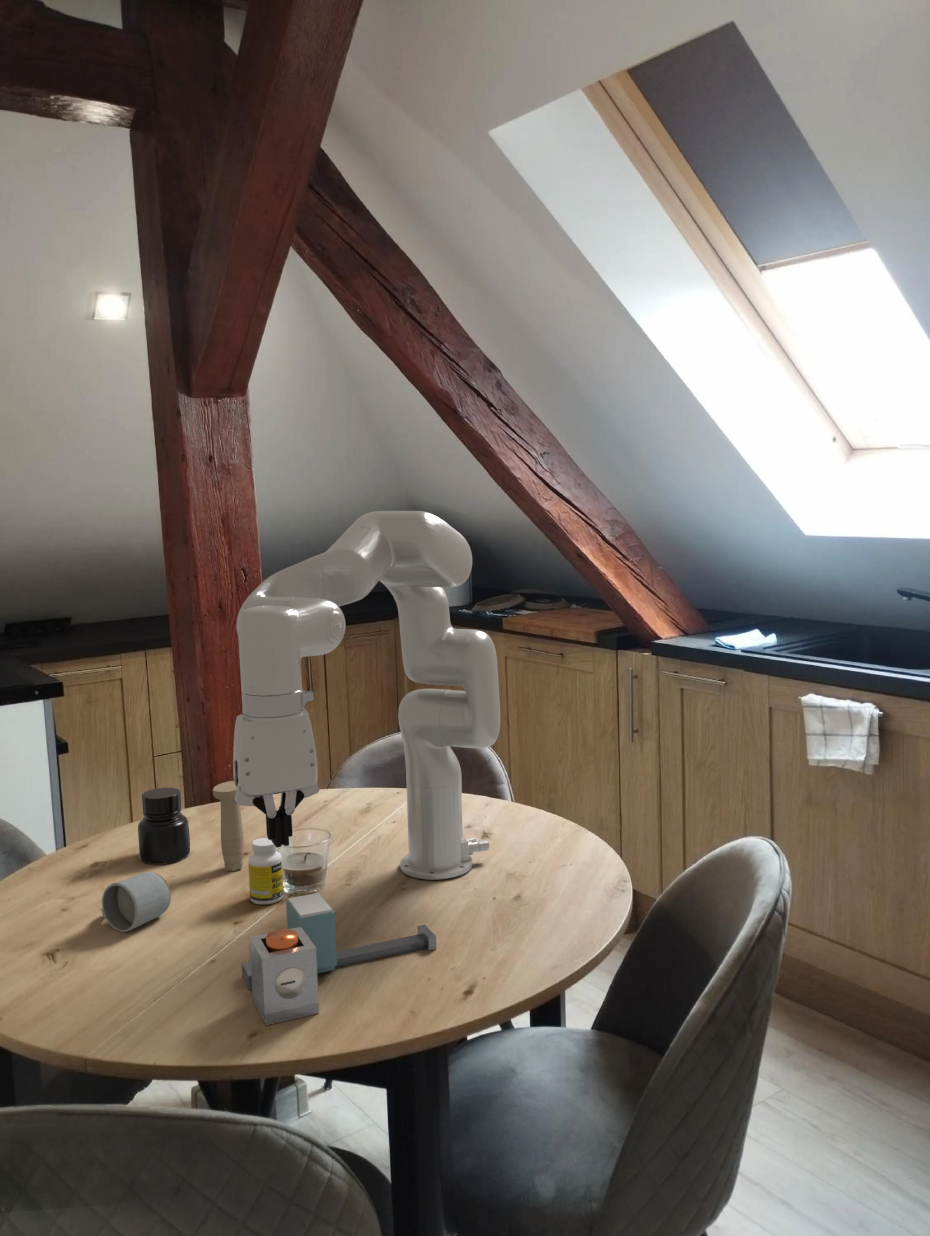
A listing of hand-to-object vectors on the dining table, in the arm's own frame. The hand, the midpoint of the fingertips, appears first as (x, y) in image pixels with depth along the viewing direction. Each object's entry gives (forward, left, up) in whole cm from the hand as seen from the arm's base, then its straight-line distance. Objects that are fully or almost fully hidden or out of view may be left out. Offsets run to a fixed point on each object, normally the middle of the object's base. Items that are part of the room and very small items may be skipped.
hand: (280, 843), depth 139 cm
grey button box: (+1, +1, -22) cm, 22 cm away
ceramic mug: (+15, -37, -22) cm, 46 cm away
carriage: (-6, -8, -22) cm, 24 cm away
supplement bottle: (-6, -36, -22) cm, 43 cm away
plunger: (+1, +1, -20) cm, 20 cm away
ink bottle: (+6, -64, -22) cm, 68 cm away
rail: (-10, -8, -22) cm, 26 cm away
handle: (-4, -52, -22) cm, 56 cm away
